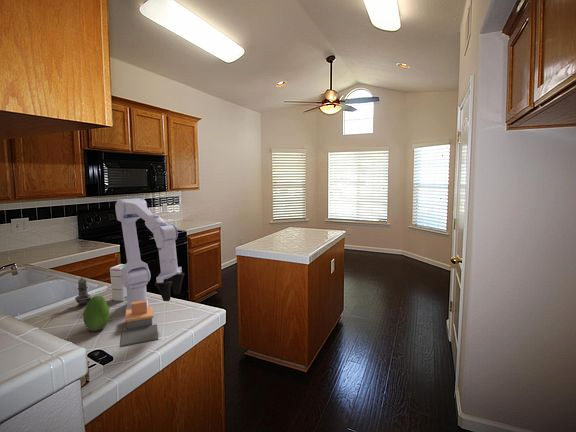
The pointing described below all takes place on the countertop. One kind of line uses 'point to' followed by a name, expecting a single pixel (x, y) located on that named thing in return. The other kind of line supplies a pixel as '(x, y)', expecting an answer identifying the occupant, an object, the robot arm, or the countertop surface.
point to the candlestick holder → (82, 294)
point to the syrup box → (117, 284)
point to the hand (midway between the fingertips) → (172, 297)
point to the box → (139, 323)
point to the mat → (139, 335)
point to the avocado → (96, 313)
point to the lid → (139, 311)
